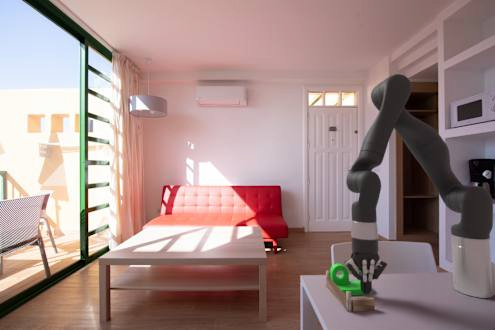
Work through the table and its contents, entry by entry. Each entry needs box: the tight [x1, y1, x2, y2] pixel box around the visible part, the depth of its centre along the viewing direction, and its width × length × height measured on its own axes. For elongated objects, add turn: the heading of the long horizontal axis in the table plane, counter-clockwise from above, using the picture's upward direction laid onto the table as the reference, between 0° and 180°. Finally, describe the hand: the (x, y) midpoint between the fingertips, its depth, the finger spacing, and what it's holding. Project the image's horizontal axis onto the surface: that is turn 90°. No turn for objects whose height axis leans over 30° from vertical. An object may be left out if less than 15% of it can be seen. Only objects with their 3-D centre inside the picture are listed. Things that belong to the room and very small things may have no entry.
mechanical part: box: [329, 263, 372, 296], centre depth 81 cm, size 12×6×8 cm, turn 94°
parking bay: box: [325, 270, 376, 313], centre depth 77 cm, size 8×16×5 cm, turn 4°
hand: (366, 292), depth 77 cm, fingers closed
